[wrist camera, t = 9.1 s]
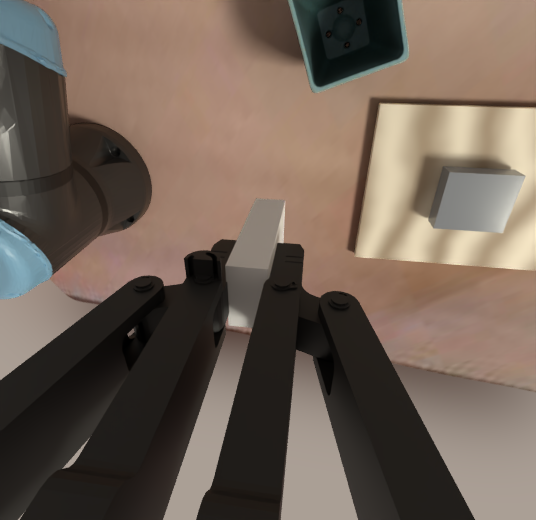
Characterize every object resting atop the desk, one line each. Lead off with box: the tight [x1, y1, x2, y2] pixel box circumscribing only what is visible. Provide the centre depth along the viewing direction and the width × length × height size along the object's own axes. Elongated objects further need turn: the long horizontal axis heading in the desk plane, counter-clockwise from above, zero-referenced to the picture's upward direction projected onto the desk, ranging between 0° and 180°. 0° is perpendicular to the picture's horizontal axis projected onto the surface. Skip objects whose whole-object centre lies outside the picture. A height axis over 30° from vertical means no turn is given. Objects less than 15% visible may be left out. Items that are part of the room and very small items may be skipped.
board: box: [354, 103, 536, 271], centre depth 43 cm, size 24×20×1 cm
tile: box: [428, 166, 526, 233], centre depth 41 cm, size 3×7×8 cm
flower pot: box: [288, 0, 409, 93], centre depth 33 cm, size 9×9×9 cm
